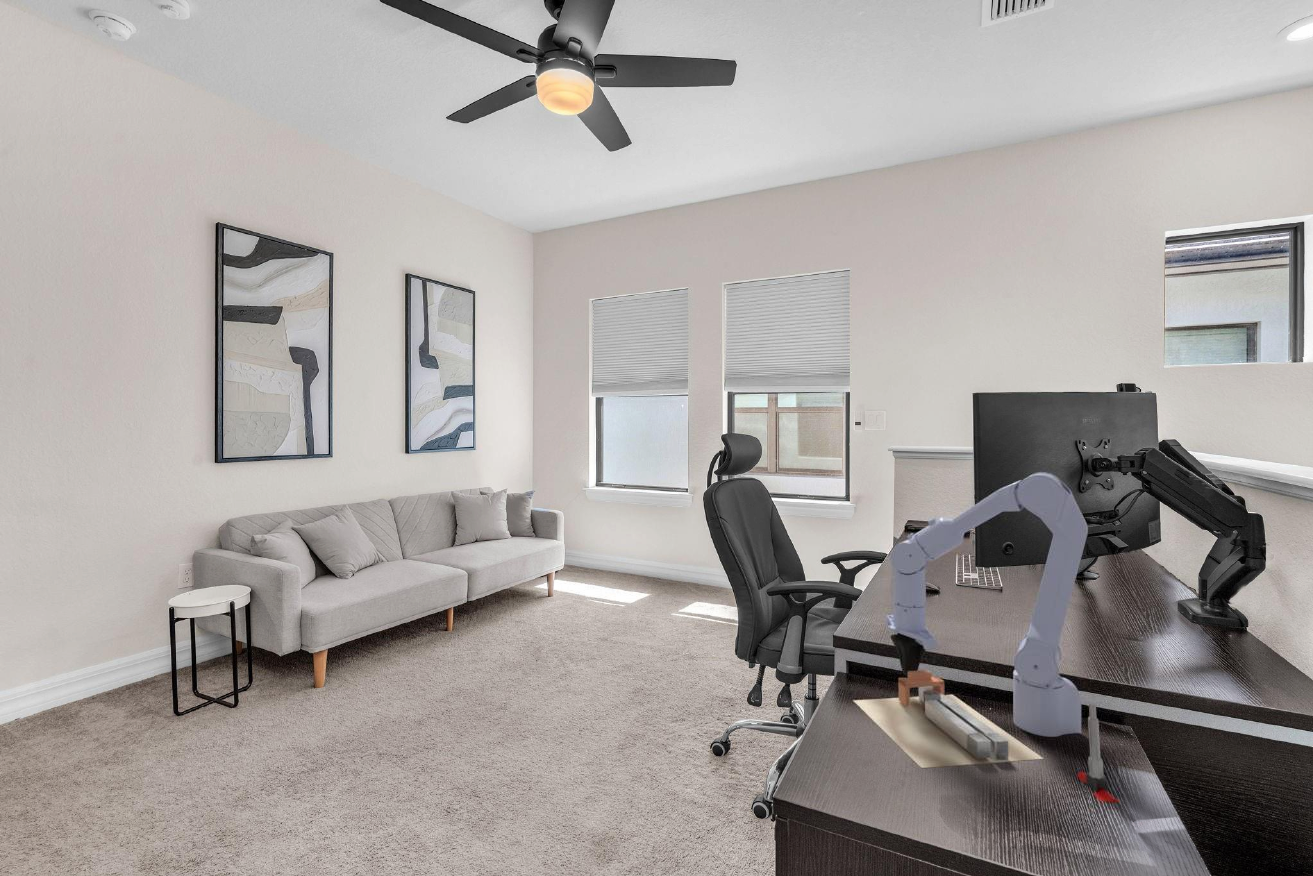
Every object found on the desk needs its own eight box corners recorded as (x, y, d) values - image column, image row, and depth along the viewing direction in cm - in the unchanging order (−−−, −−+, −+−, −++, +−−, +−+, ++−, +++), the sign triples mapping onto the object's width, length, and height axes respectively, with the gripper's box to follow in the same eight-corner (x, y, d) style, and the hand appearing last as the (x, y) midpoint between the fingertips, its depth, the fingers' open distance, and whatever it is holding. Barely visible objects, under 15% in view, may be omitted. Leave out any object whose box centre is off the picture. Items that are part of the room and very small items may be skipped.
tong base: (928, 698, 111) (928, 681, 111) (1008, 759, 90) (1008, 738, 90) (909, 699, 110) (909, 682, 110) (984, 761, 89) (984, 740, 89)
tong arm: (936, 714, 103) (936, 700, 103) (990, 758, 89) (990, 741, 89) (925, 715, 103) (925, 700, 103) (977, 759, 89) (977, 741, 89)
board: (952, 699, 112) (952, 694, 112) (1043, 765, 90) (1043, 758, 90) (853, 705, 110) (853, 700, 110) (921, 774, 87) (921, 767, 87)
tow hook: (1054, 815, 79) (1125, 814, 78) (1048, 719, 79) (1120, 717, 78) (1018, 779, 87) (1083, 778, 87) (1013, 692, 87) (1078, 690, 87)
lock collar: (936, 697, 110) (936, 669, 110) (944, 703, 108) (944, 674, 108) (898, 700, 109) (898, 671, 109) (905, 705, 107) (905, 676, 107)
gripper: (871, 594, 119) (871, 661, 119) (910, 615, 105) (910, 691, 105) (904, 593, 120) (904, 659, 120) (947, 614, 106) (947, 689, 106)
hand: (909, 674), depth 112 cm, fingers closed
